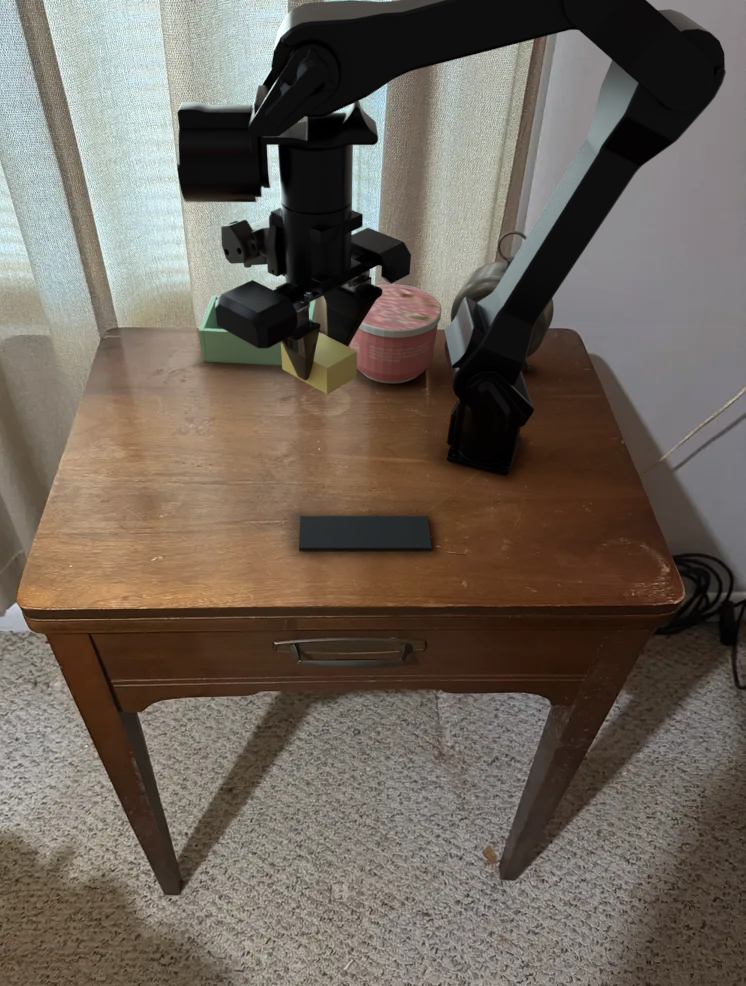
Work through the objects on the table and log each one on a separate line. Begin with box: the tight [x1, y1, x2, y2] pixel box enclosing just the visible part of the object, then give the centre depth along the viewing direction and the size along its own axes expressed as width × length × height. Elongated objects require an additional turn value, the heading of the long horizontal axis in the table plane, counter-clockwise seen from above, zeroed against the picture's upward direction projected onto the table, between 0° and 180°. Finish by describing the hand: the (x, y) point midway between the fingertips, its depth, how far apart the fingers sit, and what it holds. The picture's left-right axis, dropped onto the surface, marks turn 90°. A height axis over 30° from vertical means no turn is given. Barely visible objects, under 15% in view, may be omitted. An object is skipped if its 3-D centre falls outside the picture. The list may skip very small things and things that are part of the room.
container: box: [349, 283, 443, 384], centre depth 86 cm, size 10×10×8 cm
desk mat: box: [298, 515, 433, 552], centre depth 70 cm, size 12×4×1 cm, turn 91°
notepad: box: [281, 331, 358, 395], centre depth 71 cm, size 4×6×3 cm, turn 46°
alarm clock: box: [450, 230, 555, 372], centre depth 84 cm, size 11×5×16 cm, turn 66°
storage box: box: [197, 294, 317, 366], centre depth 90 cm, size 13×8×4 cm, turn 86°
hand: (319, 368), depth 71 cm, fingers closed on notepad, 4 cm apart
